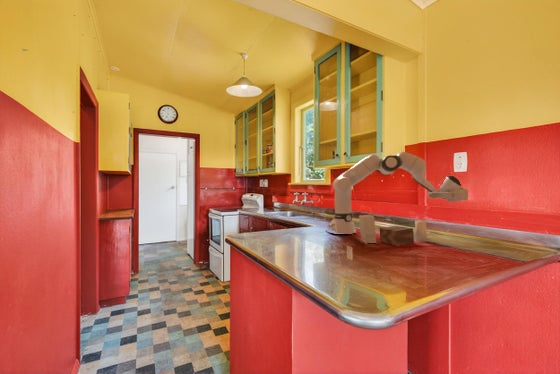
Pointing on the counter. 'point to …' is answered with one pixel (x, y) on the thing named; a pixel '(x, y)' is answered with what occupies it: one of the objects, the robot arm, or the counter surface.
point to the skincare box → (367, 228)
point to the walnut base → (397, 235)
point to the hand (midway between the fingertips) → (436, 196)
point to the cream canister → (421, 231)
